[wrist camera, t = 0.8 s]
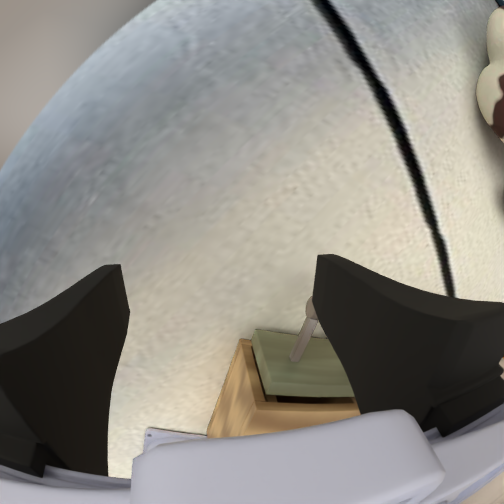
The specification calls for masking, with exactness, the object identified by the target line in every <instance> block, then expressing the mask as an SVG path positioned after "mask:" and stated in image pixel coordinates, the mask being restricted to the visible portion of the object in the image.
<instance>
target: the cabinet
mask: <svg viewBox="0 0 504 504" xmlns="http://www.w3.org/2000/svg"><path fill="white" fill-rule="evenodd" d="M255 358H256V357H255V354H254V350H253V346H252V343H251V340H245V339H240V340H239V343H238V346H237V348H236V351H235V354H234V357H233V360H232V362H231V365H230V368H229V371H228V374H227V376H226V379H225V382H224V385H223V387H222V390H221V393H220V396H219V398H218V401H217V404H216V407H215V409H214V412H213V415H212V418H211V420H210V423H209V426H208V428H207V438H223V437H236V436H247V435H256V434H264V433H272V432H279V431H286V430H292V429H298V428H304V427H309V426H314V425H319V424H324V423H329V422H334V421H338V420H342V419H347V418H351V417H355V416H358V415H361V414H360V411H359V408H358V405H357V403H345V404H303V403H277V402H266V400H265V397H264V393H263V390H262V386H261V382H260V379H259V375H258V371H257V368H256V364H255V360H254V359H255Z"/></svg>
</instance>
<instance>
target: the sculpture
mask: <svg viewBox="0 0 504 504" xmlns="http://www.w3.org/2000/svg"><path fill="white" fill-rule="evenodd" d="M486 46H487V52H488V56H489V61H490V64H489V65H488V66H487V67H485V68H484V69H483V71H482V72H481V74H480V76H479V79H478V82H477V87H476V96H477V102H478V105H479V108H480V111H481V113H482V115H483V117H484V119H485V120H486V122H487V123H488V125H489V126H490V127H491V128H492V130H493V131H494V132H495V133H496V135H497V136H498V137H499V138H500V140H501V141H502V142H503V143H504V6H500V7H498V8H497V9H495V10H494V11H493V13H492V14H491V15H490V17H489V20H488V23H487V39H486Z"/></svg>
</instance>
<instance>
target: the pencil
mask: <svg viewBox="0 0 504 504" xmlns="http://www.w3.org/2000/svg"><path fill="white" fill-rule="evenodd" d="M496 1H497V3H498V4H499V5H500V6H504V1H503V0H496Z"/></svg>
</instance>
